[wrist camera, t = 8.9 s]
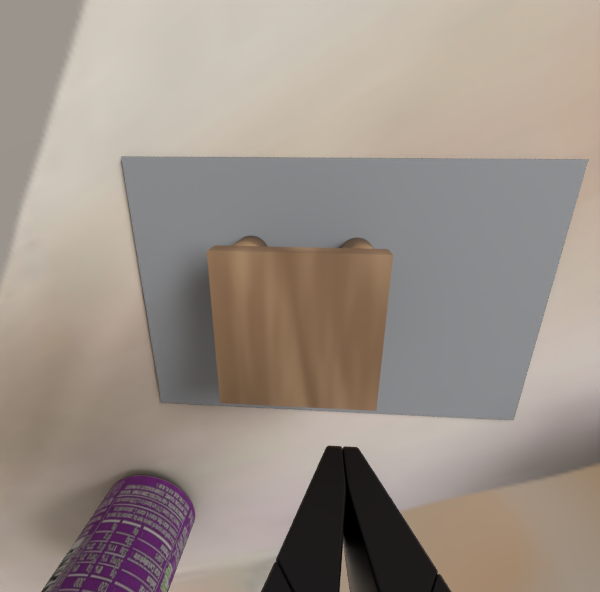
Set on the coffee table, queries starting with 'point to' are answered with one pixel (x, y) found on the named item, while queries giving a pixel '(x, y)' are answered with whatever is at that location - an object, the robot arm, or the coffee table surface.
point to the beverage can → (129, 540)
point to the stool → (299, 323)
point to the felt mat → (381, 235)
